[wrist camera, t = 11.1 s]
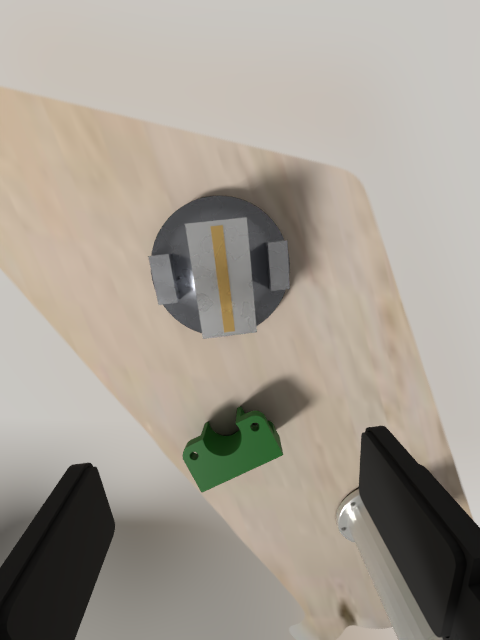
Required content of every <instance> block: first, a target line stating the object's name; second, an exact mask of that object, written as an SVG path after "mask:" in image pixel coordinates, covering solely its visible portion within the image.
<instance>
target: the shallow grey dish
mask: <svg viewBox="0 0 480 640" xmlns="http://www.w3.org/2000/svg"><path fill="white" fill-rule="evenodd" d="M245 217H247V227H248V238H249V250H250V261H251V272H252V284H253V295H254V306H255V318H256V326H257V325H259V324H260V323H262V322H263V321H264V320H265V319H267V318H268V317H269V316H270V315H271V314H272V313H273V311H274V310H275V309H276V307H277V306H278V305H279V303H280V301H281V299H282V298H283V295H284V293H285V290H286V289H290V285H289V267H290V263H289V254H288V244H287V240H284V238H283V236H282V234H281V232H280V230H279V228H278V227H277V226H276V224H275V223H274V222H273V220H272V219H271V218H270V217H269V216H268V215H267V214H266V213H264V212H263V211H262V210H261V209H259V208H258V207H256V206H255V205H253V204H251V203H249V202H247V201H244V200H242V199H238V198H235V197H229V196H209V197H204V198H200V199H197V200H194V201H192V202H190V203H188V204H186V205H184V206H182V207H181V208H180V209H178V210H177V211H176V212H174V213H173V214H172V215H171V216H170V217H169V218H168V220H167V221H166V222H165V223H164V225H163V226H162V228H161V229H160V231H159V233H158V235H157V237H156V240H155V242H154V246H153V250H152V256H148V257H149V262H150V267H151V274H152V280H153V284H154V287H155V290H156V295H157V300H158V304H159V305H162V304H163V305H164V307H165V308H166V309H167V311H168V312H169V313H170V314H171V315H172V316H173V317H174V318H175V319H176V320H178V321H179V322H180V323H181V324H183V325H185V326H186V327H188V328H190V329H192V330H195V331H197V332H200V333H202V329H201V322H200V316H199V310H198V303H197V297H196V291H195V284H194V278H193V272H192V265H191V259H190V253H189V246H188V240H187V234H186V227H185V224H188V223H197V222H207V221H216V220H226V219H235V218H245Z"/></svg>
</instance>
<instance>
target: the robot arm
mask: <svg viewBox="0 0 480 640" xmlns="http://www.w3.org/2000/svg"><path fill="white" fill-rule="evenodd" d="M336 523H337V526H338V528H339V531H340V532H341V534H342V535H343V536H344V537H345V538H346V539H348V540H350V541H352V542H355V543H356V546H357V548H358V550H359V552H360V555H361V557H362V559H363V561H364V564H365V566H366V568H367V570H368V573H369V575H370V577H371V579H372V582H373V584H374V586H375V588H376V591H377V593H378V595H379V597H380V600H381V602H382V604H383V606H384V609H385V611H386V613H387V615H388V618H389V620H390V622H391V624H392V627H393V629H394V631H395V633H396V636H397V638H398V640H480V528H479V527H478V525H477V524H476V523H475V522H474V521H473V520H472V519H471V518H470V517H469V515H468V514H467V513H466V512H465V511H464V510H463V509H462V508H461V507H460V505H459V504H458V503H457V502H456V501H455V500H454V499H453V498H452V497H451V495H450V494H449V493H448V492H447V491H446V490H445V489H444V488H443V487H442V485H441V484H440V483H439V482H438V481H437V480H436V479H435V478H434V477H433V475H432V474H431V473H430V472H429V471H428V470H427V469H426V468H425V467H424V466H422V465H420V464H418V463H417V462H416V461H415V459H414V458H413V457H412V456H411V455H410V454H409V453H408V452H407V450H406V449H405V448H404V447H403V446H402V445H401V444H400V442H399V441H398V440H397V439H396V438H395V437H394V436H393V435H392V433H391V432H390V431H389V430H388V429H387V428H386V427H385V426H376V427H368V428H366V431H365V432H364V433H362V436H361V456H360V475H359V489H357V490H355V491H354V492H352V493H351V494H350V495H348V496H347V497H346V498H345V499H344V500H343V501H342V503H341V504H340V506H339V508H338V510H337V513H336ZM114 530H115V522H114V518H113V515H112V512H111V509H110V506H109V503H108V500H107V497H106V494H105V491H104V488H103V484H102V481H101V478H100V475H99V472H98V469H97V467H93V465H92V464H91V463H83V464H75V465H71V466H70V467H69V468H68V469H67V471H66V472H65V474H64V475H63V477H62V478H61V480H60V481H59V482H58V484H57V485H56V487H55V488H54V490H53V491H52V493H51V494H50V496H49V497H48V499H47V500H46V502H45V503H44V504H43V506H42V507H41V509H40V511H39V512H38V513H37V515H36V516H35V518H34V519H33V520H32V522H31V523H30V525H29V526H28V528H27V529H26V531H25V532H24V534H23V535H22V537H21V538H20V540H19V541H18V542H17V544H16V545H15V547H14V548H13V550H12V551H11V553H10V554H9V556H8V557H7V559H6V560H5V562H4V563H3V565H2V566H1V567H0V640H75V637H76V635H77V632H78V629H79V627H80V623H81V621H82V618H83V616H84V613H85V610H86V608H87V605H88V602H89V600H90V597H91V594H92V591H93V589H94V586H95V583H96V581H97V578H98V575H99V573H100V570H101V567H102V565H103V562H104V559H105V556H106V554H107V551H108V549H109V546H110V543H111V540H112V538H113V535H114Z"/></svg>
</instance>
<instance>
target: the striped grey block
mask: <svg viewBox="0 0 480 640" xmlns="http://www.w3.org/2000/svg"><path fill="white" fill-rule="evenodd" d="M185 227H186V234H187V240H188V246H189V253H190V259H191V265H192V272H193V278H194V284H195V291H196V297H197V303H198V310H199V316H200V322H201V329H202V335H203V339H206V338H214V337H222V336H230V335H238V334H246V333H254V332H257V329H256V318H255V306H254V295H253V284H252V272H251V261H250V250H249V238H248V227H247V217H245V218H235V219H226V220H216V221H207V222H197V223H188V224H185Z"/></svg>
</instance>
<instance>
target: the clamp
mask: <svg viewBox="0 0 480 640" xmlns="http://www.w3.org/2000/svg"><path fill="white" fill-rule="evenodd" d="M252 423H258V425H257V426H253V425H252ZM236 425H237V426H238V427H239V431H238V432H236V433H235V434H233V435H230V436H222V435H219V434H217V433H216V432H214V431H213V430H212V428H211V427H210V424H209V422H207V423H205V425H204V428H203V431H202V434H201V435H200V436H198V437H196V438H194V439H192V440H190V441H189V442H188V443H187V445H186V447H185V449H184V452H183V460H184V462H185V463H186V465H187V467H188V469H189V471H190V472H191V474H192V476H193V478H194V480H195V481H196V483H197V485H198V487H199V489H200V491H201V492H204V491H206V490H209V489H211V488H213V487H215V486H217V485H219V484H222V483H224V482H226V481H228V480H230V479H232V478H235V477H237V476H239V475H241V474H243V473H245V472H247V471H250V470H252V469H254V468H256V467H258V466H260V465H263V464H265V463H267V462H269V461H271V460H273V459H276V458H278V457H280V456H282V455H283V452H282V447H281V442H280V437H279V435H278V433H277V431H276V429H275V427H274V425H273V423H272V422H271V421H267V419H266V417H265V415H264V414H263V413H262V412H260V411H250V412H248V413H246V414H245V412H244V410H243V409H242V407H241V406H240V407H238V408H237V415H236ZM194 452H197V454H196V453H194Z"/></svg>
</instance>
